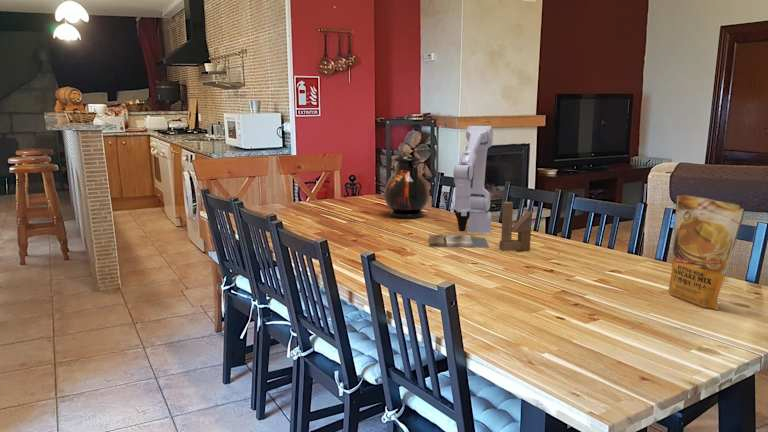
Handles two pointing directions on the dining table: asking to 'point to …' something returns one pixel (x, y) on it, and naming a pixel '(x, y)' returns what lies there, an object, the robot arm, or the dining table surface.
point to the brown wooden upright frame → (515, 230)
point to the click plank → (458, 240)
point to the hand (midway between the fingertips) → (461, 231)
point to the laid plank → (437, 240)
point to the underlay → (474, 243)
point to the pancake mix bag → (702, 248)
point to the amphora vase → (406, 189)
